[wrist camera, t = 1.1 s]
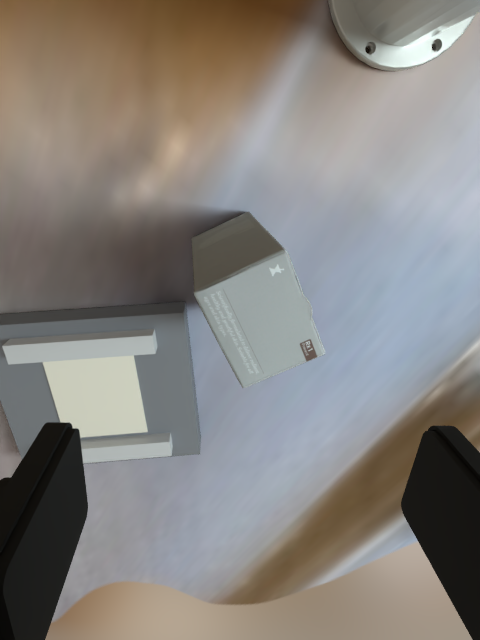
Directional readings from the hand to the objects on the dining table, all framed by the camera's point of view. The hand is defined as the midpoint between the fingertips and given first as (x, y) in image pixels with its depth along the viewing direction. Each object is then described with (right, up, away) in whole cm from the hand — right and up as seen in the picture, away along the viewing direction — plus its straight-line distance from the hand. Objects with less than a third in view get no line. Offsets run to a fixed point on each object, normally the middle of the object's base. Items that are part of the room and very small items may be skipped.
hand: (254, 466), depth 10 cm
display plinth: (-16, -3, +33) cm, 36 cm away
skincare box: (0, +10, +28) cm, 30 cm away
